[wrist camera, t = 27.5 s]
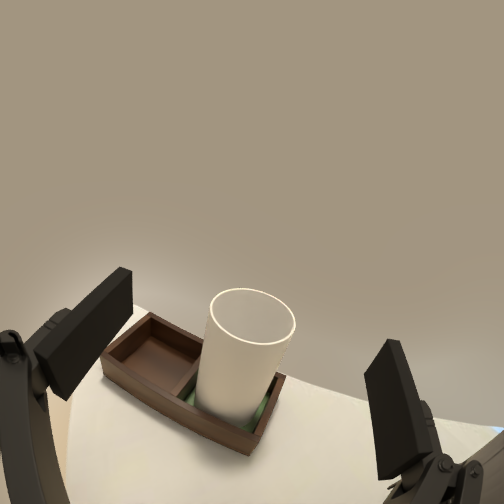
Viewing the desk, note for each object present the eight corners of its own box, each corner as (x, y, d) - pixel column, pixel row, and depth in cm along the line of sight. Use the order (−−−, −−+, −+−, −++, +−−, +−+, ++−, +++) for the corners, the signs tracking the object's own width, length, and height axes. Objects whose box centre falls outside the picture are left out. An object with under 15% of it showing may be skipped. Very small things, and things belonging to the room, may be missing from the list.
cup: (195, 376, 35) (211, 282, 28) (252, 382, 37) (287, 293, 30) (192, 426, 28) (208, 339, 21) (259, 430, 29) (305, 347, 22)
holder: (249, 456, 26) (258, 442, 24) (103, 374, 31) (98, 353, 29) (276, 394, 36) (286, 375, 34) (149, 332, 41) (149, 311, 39)
